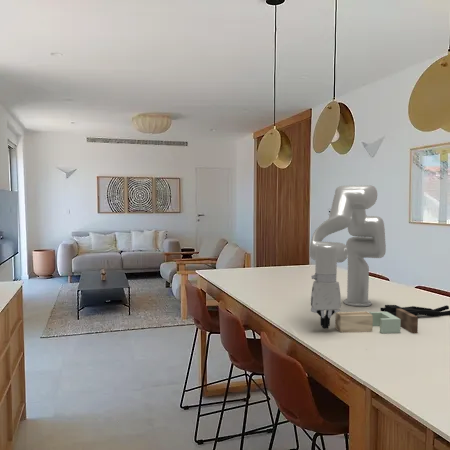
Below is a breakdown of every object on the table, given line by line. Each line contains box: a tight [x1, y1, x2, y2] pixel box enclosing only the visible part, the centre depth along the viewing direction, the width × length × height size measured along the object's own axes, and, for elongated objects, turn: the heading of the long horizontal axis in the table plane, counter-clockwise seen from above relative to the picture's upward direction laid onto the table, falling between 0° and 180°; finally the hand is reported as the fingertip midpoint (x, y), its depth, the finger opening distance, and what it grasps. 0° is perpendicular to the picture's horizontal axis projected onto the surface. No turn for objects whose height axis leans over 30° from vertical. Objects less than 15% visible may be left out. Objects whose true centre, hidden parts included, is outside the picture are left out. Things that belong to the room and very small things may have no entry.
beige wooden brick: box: [334, 311, 374, 333], centre depth 157 cm, size 6×12×6 cm, turn 95°
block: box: [368, 311, 401, 334], centre depth 158 cm, size 10×7×5 cm, turn 5°
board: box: [396, 309, 419, 334], centre depth 159 cm, size 20×29×7 cm
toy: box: [379, 304, 450, 317], centre depth 179 cm, size 10×5×30 cm
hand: (325, 327), depth 156 cm, fingers closed
